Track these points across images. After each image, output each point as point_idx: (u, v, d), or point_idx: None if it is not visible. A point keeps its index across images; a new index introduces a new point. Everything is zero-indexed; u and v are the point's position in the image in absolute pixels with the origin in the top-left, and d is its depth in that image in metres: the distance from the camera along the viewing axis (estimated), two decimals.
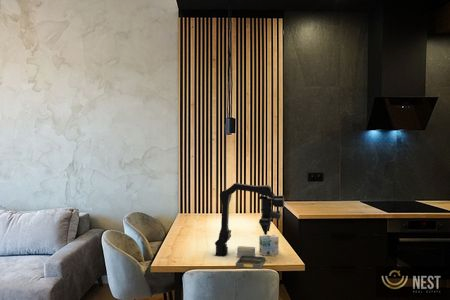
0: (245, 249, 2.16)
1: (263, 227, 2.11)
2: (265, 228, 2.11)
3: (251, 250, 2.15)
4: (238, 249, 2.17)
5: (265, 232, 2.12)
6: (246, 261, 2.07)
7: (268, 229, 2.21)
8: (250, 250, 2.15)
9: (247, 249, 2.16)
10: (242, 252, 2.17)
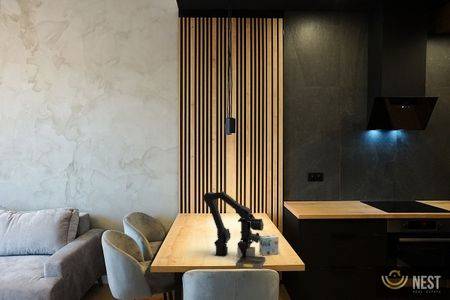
0: None
1: (242, 250, 2.13)
2: (244, 251, 2.13)
3: (251, 250, 2.15)
4: (238, 249, 2.17)
5: (244, 255, 2.13)
6: (246, 261, 2.07)
7: None
8: (250, 250, 2.15)
9: (247, 249, 2.16)
10: None
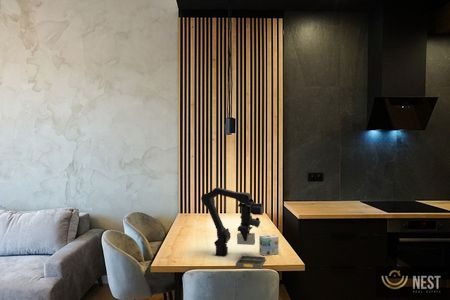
0: None
1: (243, 234, 2.15)
2: (245, 234, 2.15)
3: (251, 236, 2.15)
4: (238, 235, 2.17)
5: (245, 238, 2.15)
6: (246, 261, 2.07)
7: None
8: (250, 236, 2.15)
9: (247, 235, 2.16)
10: (242, 238, 2.17)
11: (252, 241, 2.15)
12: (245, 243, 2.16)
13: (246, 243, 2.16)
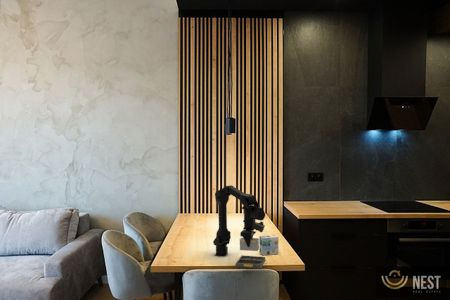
0: None
1: (246, 239, 2.00)
2: (248, 240, 2.00)
3: (255, 241, 2.00)
4: (240, 241, 2.02)
5: (248, 244, 2.00)
6: (246, 261, 2.07)
7: None
8: (253, 241, 2.00)
9: None
10: (245, 244, 2.02)
11: (256, 247, 2.00)
12: (248, 249, 2.01)
13: (249, 249, 2.01)
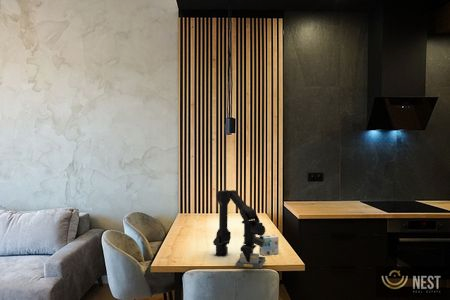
0: None
1: (245, 254, 1.99)
2: (248, 255, 1.99)
3: (255, 257, 2.00)
4: (241, 256, 2.02)
5: (248, 259, 1.99)
6: None
7: None
8: (254, 257, 2.00)
9: (250, 256, 2.01)
10: (245, 259, 2.02)
11: (256, 262, 2.00)
12: None
13: None
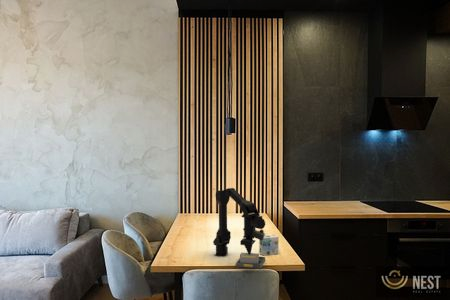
0: (248, 256, 2.01)
1: (246, 246, 2.02)
2: (249, 247, 2.02)
3: (255, 257, 2.00)
4: (241, 256, 2.02)
5: (249, 251, 2.02)
6: None
7: None
8: (254, 257, 2.00)
9: (250, 256, 2.01)
10: (245, 259, 2.02)
11: (256, 262, 2.00)
12: None
13: None
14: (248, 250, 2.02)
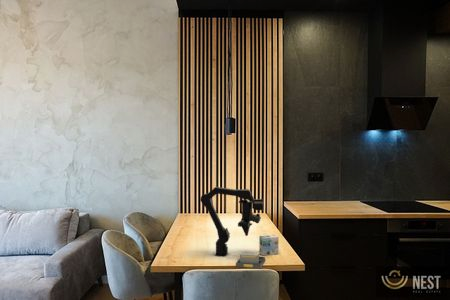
0: (248, 256, 2.01)
1: (244, 228, 2.21)
2: (246, 229, 2.21)
3: (255, 257, 2.00)
4: (241, 256, 2.02)
5: (246, 233, 2.21)
6: None
7: None
8: (254, 257, 2.00)
9: (250, 256, 2.01)
10: (245, 259, 2.02)
11: (256, 262, 2.00)
12: None
13: None
14: (245, 232, 2.21)
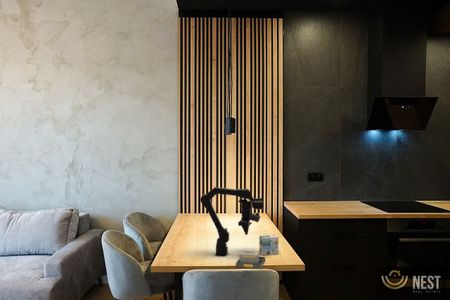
0: (248, 256, 2.01)
1: (244, 227, 2.23)
2: (246, 228, 2.23)
3: (255, 257, 2.00)
4: (241, 256, 2.02)
5: (246, 232, 2.23)
6: None
7: None
8: (254, 257, 2.00)
9: (250, 256, 2.01)
10: (245, 259, 2.02)
11: (256, 262, 2.00)
12: None
13: None
14: (245, 231, 2.23)
